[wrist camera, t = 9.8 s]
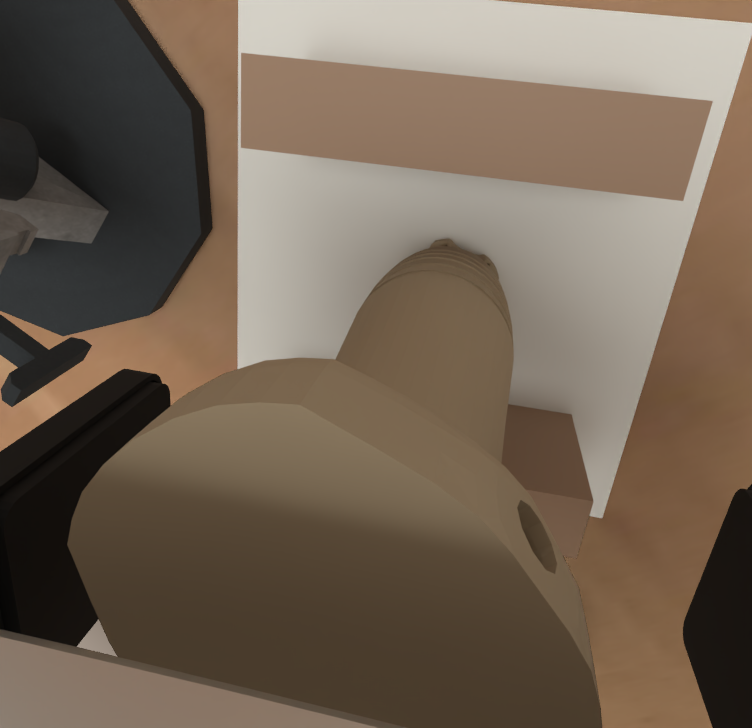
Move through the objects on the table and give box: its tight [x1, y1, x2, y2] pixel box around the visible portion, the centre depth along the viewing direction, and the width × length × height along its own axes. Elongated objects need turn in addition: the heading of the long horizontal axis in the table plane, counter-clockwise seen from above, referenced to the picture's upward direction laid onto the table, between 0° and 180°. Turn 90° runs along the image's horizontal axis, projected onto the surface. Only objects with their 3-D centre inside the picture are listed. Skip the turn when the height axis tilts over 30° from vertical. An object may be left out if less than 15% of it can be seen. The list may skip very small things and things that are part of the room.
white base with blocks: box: [238, 0, 752, 559], centre depth 18 cm, size 16×14×6 cm
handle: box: [67, 239, 602, 728], centre depth 13 cm, size 5×6×15 cm
